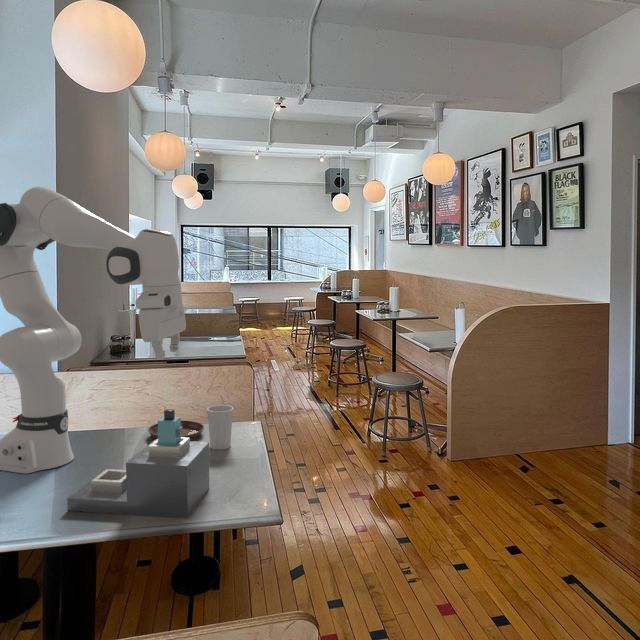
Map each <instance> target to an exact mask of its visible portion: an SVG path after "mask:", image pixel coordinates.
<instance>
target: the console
mask: <svg viewBox="0 0 640 640" xmlns="http://www.w3.org/2000/svg"><path fill="white" fill-rule="evenodd" d="M209 490H210V441H192V440H190V437H181V442H180V443H179V444H178V445H177V446H170V445H158V439H157V440H156V439H154V440H152V441H151V442H150V443H149V444H148V445H146V446H145V447H144V448H142V450H140V451H139V452H137V453H136V454H135V455H134V456H133V457H131V458H130V459H129V460H128V461H126V462H125V469H115V468H114V469H111V468H110V469H109V468H106V469H105V470H103V471H101V472H99V474H97V475H96V476H94V478H92V479H91V480H89V481H88V482H87V483H85V484H84V485H83V486H82V487H80V488H79V489H78V490H76V491H75V492H74V493H72V494H71V495H69V496H68V497H67V498H66V499H67V500H66V501H67V511H68V510H72V511H71V512H75V511H82V512H81V513H91V512H94V513H97V514H111V515H124V516H125V515H128V516H144V517H161V518H178V519H179V518H180V519H188V518H189V517H190V516H191V515H192V513H193V512H194V510H195V509H196V508H197V506H198V505H199V504H200V502H201V500H202V499H203V498H204V496H206V494H207V492H208V491H209ZM94 513H93V514H94Z"/></svg>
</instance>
